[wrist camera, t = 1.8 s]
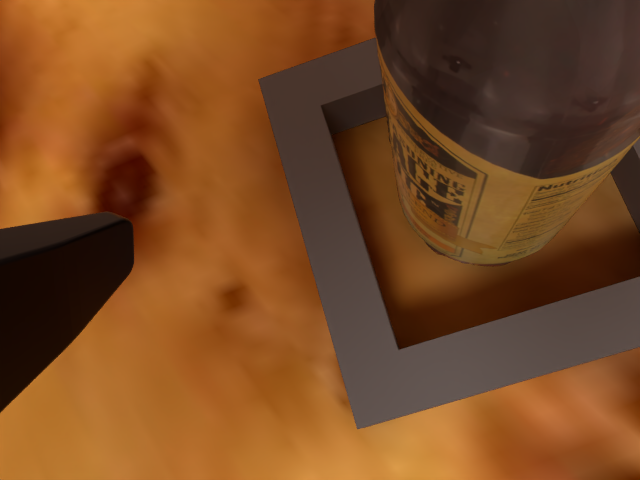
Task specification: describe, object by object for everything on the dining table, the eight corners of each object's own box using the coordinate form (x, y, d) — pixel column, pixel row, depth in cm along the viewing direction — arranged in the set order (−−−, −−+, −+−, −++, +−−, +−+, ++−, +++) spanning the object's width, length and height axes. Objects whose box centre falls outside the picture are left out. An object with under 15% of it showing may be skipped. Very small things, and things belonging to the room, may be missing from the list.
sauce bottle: (387, 141, 24) (225, -824, 5) (544, 108, 23) (1020, -1177, 4) (416, 297, 22) (328, -354, 3) (589, 268, 21) (1797, -831, 2)
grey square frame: (365, 427, 21) (357, 429, 19) (274, 110, 25) (258, 79, 23) (747, 315, 20) (789, 302, 17) (584, 2, 24) (600, -43, 22)
